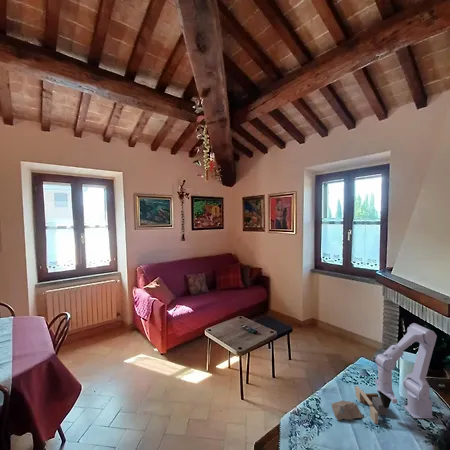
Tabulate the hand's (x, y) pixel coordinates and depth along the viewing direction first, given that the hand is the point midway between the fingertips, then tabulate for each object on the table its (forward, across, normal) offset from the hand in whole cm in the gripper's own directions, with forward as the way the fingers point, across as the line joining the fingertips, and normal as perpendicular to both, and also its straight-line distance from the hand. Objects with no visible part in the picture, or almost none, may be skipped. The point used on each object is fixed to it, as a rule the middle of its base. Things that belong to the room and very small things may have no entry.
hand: (385, 406), depth 122 cm
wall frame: (+6, -6, -7) cm, 11 cm away
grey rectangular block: (+6, -5, 0) cm, 8 cm away
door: (+6, -9, -2) cm, 11 cm away
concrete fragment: (+6, -2, -19) cm, 20 cm away
